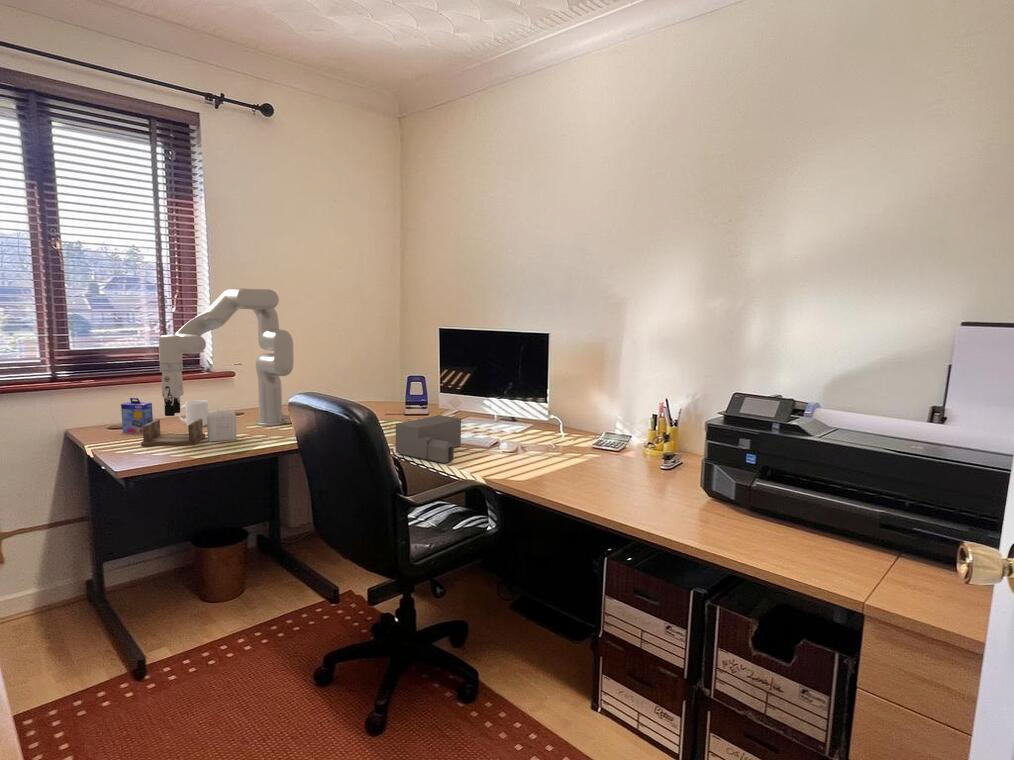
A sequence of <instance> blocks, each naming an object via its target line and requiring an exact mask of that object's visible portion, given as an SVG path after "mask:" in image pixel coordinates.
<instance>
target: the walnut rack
mask: <svg viewBox="0 0 1014 760" xmlns="http://www.w3.org/2000/svg"><path fill="white" fill-rule="evenodd" d="M187 427H188V433H161V420H160V419H157V418H155V419H153V421H152V422H150V423H148V424H146V425H144V426H143V435H142V439H143V440H142V441H141V442H140V446H141V447H163V446H167V447H168V446H195V445H197V444H198V443H199V442H200V441H202V440H203V439H204V438H205V437H206V433H205V432H204V431H203V430H204V429H203V428H204V426H202V419H198V420H196V421H194V422H193V423H191V424H190V425H188V426H187Z"/></svg>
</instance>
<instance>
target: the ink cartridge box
mask: <svg viewBox="0 0 1014 760" xmlns="http://www.w3.org/2000/svg"><path fill="white" fill-rule="evenodd" d="M120 407H121V408H120V409H121V410H120V411H121V423H122V425H121V427H122V428H121V429H122V433H124V434H143V426H144V425H146V424H148V423H150V422H152V421H154V418H153V403H152V402H141V401H140V400H139V398H137V397H136V398H135V397H129V402H123V403H121V404H120Z"/></svg>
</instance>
